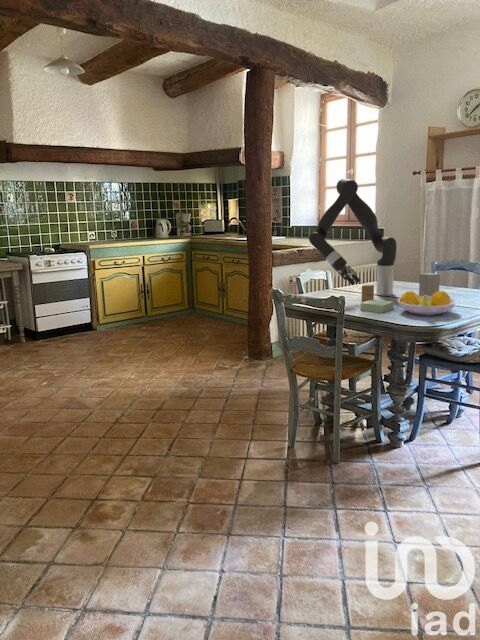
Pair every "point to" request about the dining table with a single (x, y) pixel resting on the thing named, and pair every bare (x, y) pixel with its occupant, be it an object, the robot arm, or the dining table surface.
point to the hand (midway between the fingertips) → (356, 282)
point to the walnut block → (367, 292)
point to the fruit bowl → (426, 303)
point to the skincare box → (428, 284)
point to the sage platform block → (376, 305)
